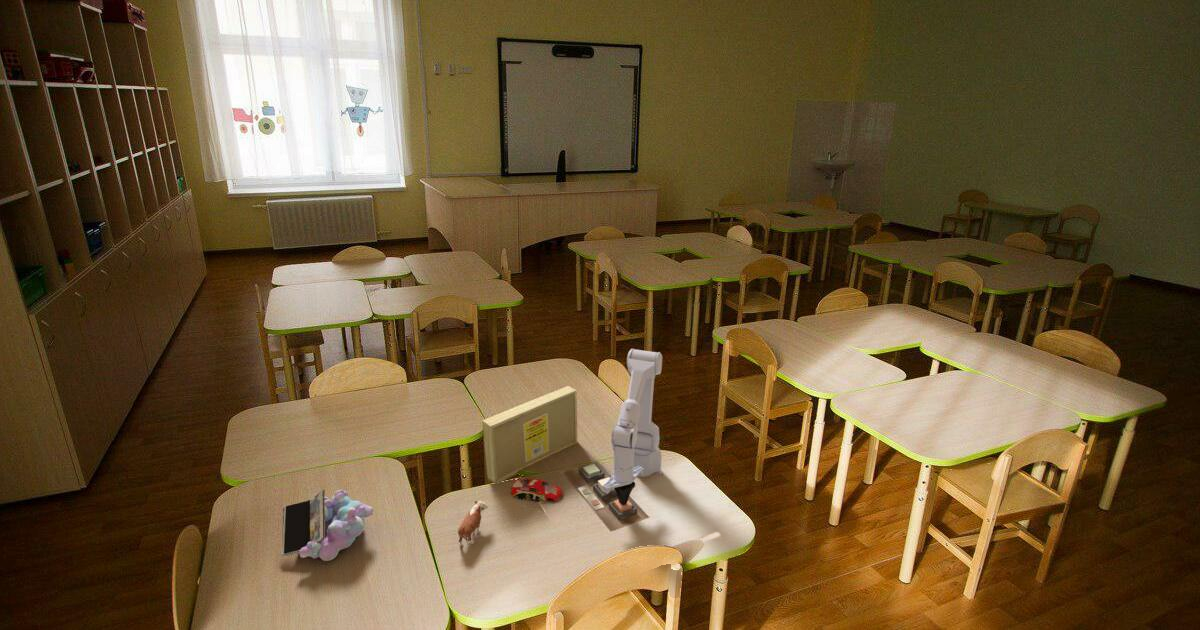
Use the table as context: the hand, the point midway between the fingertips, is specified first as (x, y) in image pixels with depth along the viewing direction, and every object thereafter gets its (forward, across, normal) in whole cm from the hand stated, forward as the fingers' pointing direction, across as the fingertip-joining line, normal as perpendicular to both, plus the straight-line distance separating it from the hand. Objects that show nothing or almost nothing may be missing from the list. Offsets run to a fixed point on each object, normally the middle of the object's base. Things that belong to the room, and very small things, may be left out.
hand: (622, 502), depth 187 cm
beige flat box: (+4, +4, -40) cm, 40 cm away
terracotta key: (+2, 0, 0) cm, 2 cm away
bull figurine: (+4, +38, -21) cm, 44 cm away
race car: (+4, +14, -24) cm, 28 cm away
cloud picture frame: (+4, +70, -44) cm, 83 cm away
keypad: (+4, -1, -10) cm, 11 cm away
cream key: (+2, -2, -10) cm, 10 cm away
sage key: (+3, -5, -19) cm, 20 cm away
